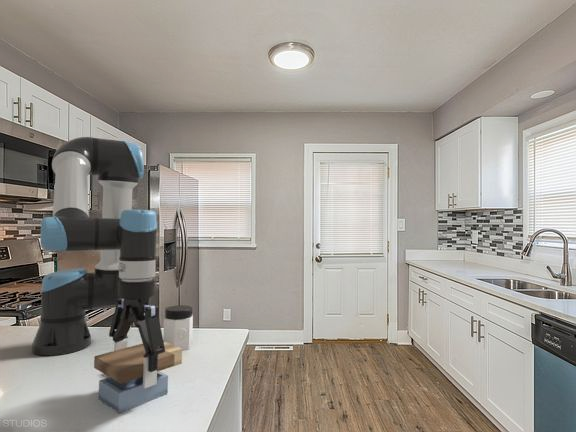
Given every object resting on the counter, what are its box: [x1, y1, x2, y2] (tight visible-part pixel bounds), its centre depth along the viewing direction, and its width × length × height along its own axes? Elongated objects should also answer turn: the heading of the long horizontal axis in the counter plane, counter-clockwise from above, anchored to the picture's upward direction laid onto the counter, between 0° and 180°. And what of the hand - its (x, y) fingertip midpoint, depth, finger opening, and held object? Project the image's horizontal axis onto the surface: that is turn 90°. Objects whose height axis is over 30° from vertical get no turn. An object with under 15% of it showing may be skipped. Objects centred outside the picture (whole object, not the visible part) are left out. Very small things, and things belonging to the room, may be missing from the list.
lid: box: [93, 343, 175, 384], centre depth 78 cm, size 12×12×2 cm
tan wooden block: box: [159, 342, 183, 372], centre depth 94 cm, size 8×14×4 cm, turn 142°
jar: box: [162, 304, 194, 351], centre depth 110 cm, size 9×8×12 cm
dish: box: [98, 371, 169, 414], centre depth 78 cm, size 9×11×4 cm
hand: (134, 377), depth 78 cm, fingers closed on lid, 12 cm apart
